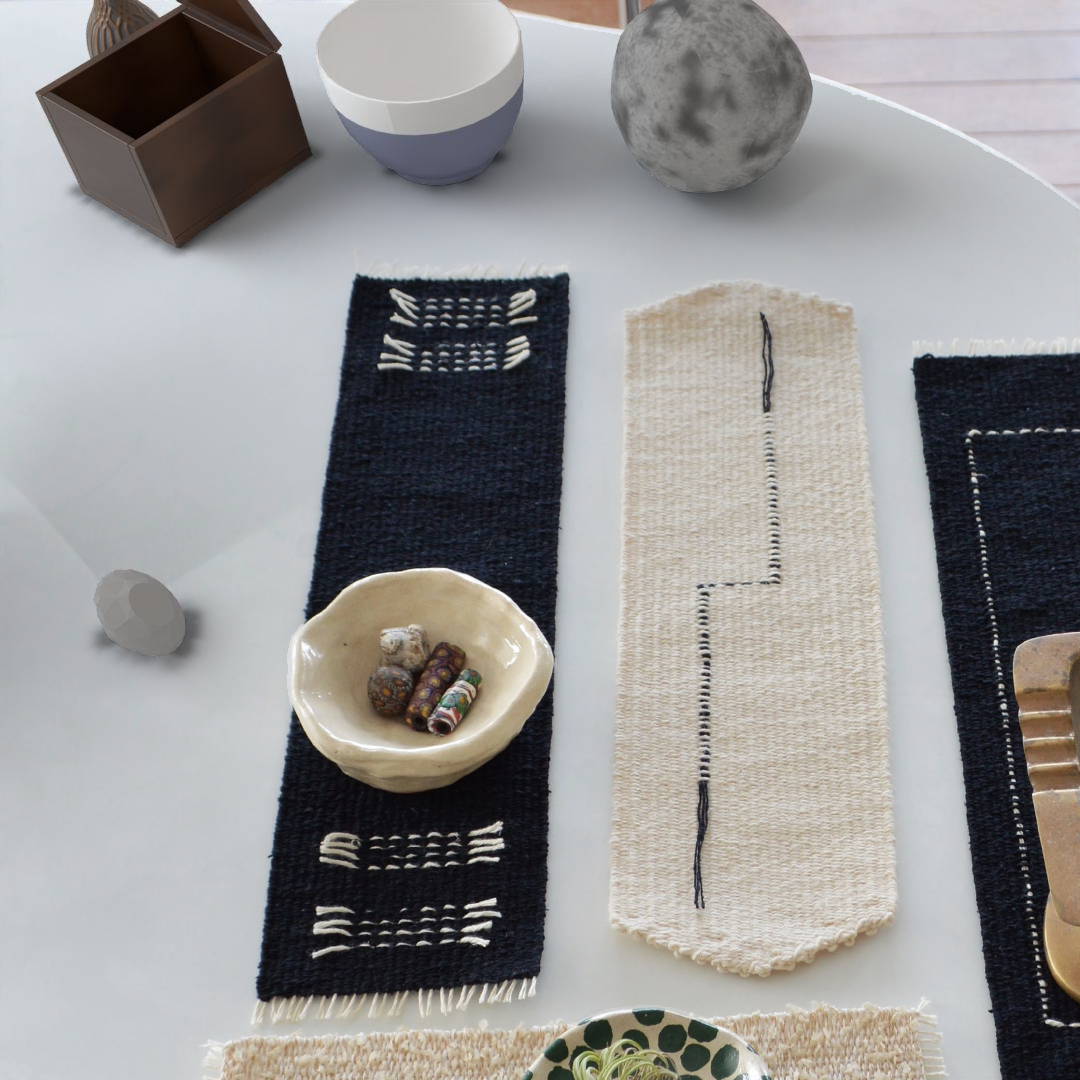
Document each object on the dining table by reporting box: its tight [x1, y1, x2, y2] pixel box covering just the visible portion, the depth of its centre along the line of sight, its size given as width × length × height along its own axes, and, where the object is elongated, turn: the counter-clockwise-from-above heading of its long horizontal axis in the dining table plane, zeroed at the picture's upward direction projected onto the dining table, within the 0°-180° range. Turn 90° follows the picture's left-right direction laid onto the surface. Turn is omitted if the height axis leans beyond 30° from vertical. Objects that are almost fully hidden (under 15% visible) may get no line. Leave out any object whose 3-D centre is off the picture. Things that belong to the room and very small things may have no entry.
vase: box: [85, 0, 161, 60], centre depth 121 cm, size 7×7×9 cm
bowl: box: [314, 0, 525, 186], centre depth 116 cm, size 16×16×10 cm
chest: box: [34, 3, 313, 248], centre depth 115 cm, size 15×12×9 cm
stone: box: [610, 0, 814, 194], centre depth 111 cm, size 15×16×15 cm
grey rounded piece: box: [93, 568, 187, 658], centre depth 92 cm, size 6×6×5 cm
